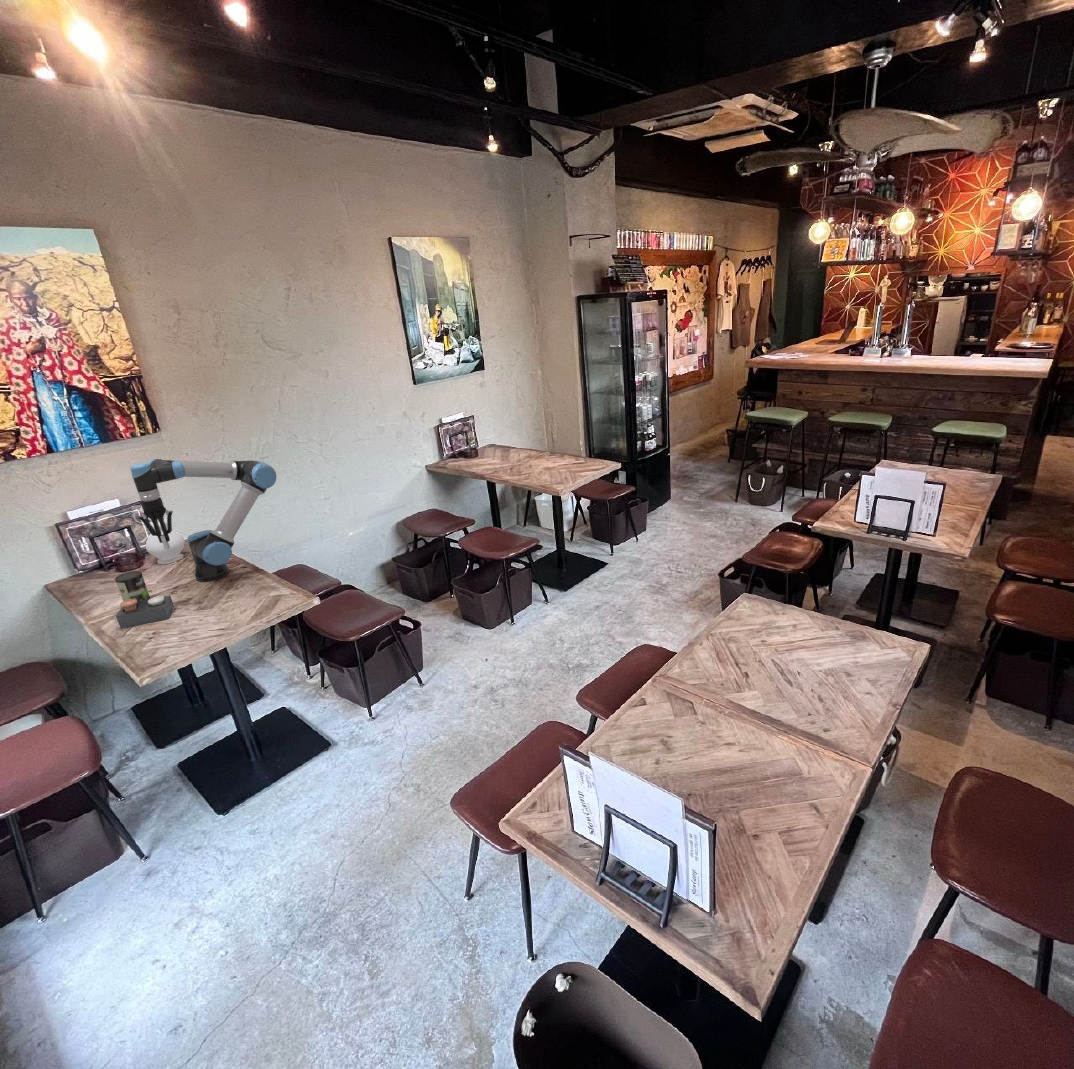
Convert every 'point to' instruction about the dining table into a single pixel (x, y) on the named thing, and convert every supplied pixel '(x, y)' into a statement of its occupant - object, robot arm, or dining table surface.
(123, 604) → the terracotta plunger
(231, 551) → the robot arm
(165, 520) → the decorative vase
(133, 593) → the coffee can
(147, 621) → the plunger block
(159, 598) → the cream plunger
